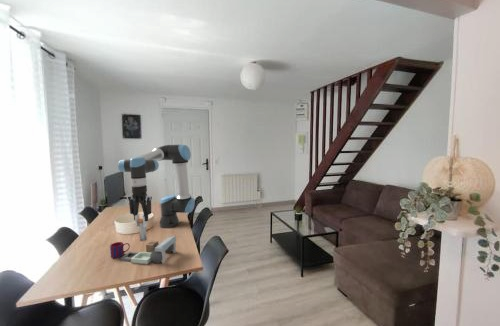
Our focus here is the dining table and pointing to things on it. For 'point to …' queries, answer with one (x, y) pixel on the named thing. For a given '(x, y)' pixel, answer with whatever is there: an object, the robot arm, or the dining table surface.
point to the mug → (117, 249)
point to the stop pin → (142, 230)
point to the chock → (151, 246)
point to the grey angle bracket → (163, 250)
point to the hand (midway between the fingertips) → (141, 226)
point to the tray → (142, 258)
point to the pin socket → (126, 257)
